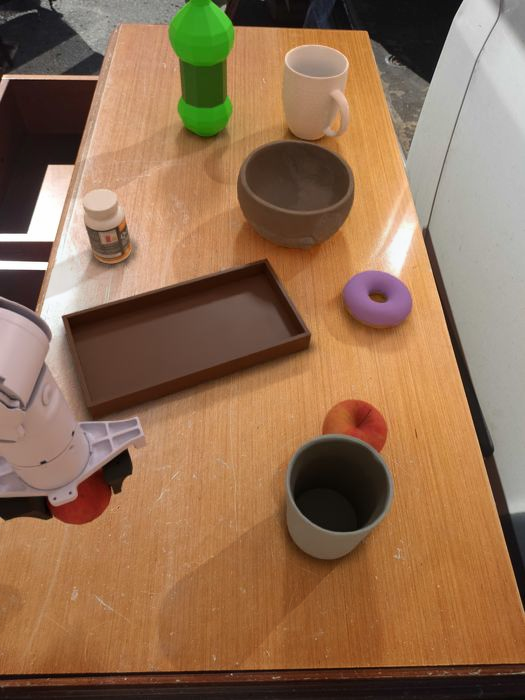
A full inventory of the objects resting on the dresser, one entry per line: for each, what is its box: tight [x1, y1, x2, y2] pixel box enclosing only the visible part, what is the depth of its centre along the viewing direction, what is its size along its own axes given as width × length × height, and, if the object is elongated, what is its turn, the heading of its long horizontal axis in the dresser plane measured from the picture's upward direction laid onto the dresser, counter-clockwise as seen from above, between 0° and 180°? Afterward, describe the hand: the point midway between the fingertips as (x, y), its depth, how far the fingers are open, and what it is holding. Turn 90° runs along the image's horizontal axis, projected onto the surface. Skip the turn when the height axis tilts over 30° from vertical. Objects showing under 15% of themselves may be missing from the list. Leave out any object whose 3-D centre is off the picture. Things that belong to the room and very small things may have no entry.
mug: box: [281, 44, 351, 141], centre depth 98 cm, size 15×11×13 cm
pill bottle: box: [82, 188, 132, 264], centre depth 80 cm, size 6×6×10 cm
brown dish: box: [60, 257, 312, 421], centre depth 74 cm, size 30×15×3 cm, turn 113°
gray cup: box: [284, 434, 395, 560], centre depth 57 cm, size 10×10×12 cm
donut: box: [342, 269, 413, 329], centre depth 79 cm, size 10×9×5 cm
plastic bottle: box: [168, 0, 236, 137], centre depth 93 cm, size 10×10×25 cm
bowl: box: [236, 139, 356, 250], centre depth 85 cm, size 17×18×10 cm
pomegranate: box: [45, 467, 113, 526], centre depth 51 cm, size 6×6×8 cm
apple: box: [321, 399, 388, 454], centre depth 64 cm, size 7×7×8 cm
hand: (81, 496), depth 53 cm, fingers closed on pomegranate, 6 cm apart
